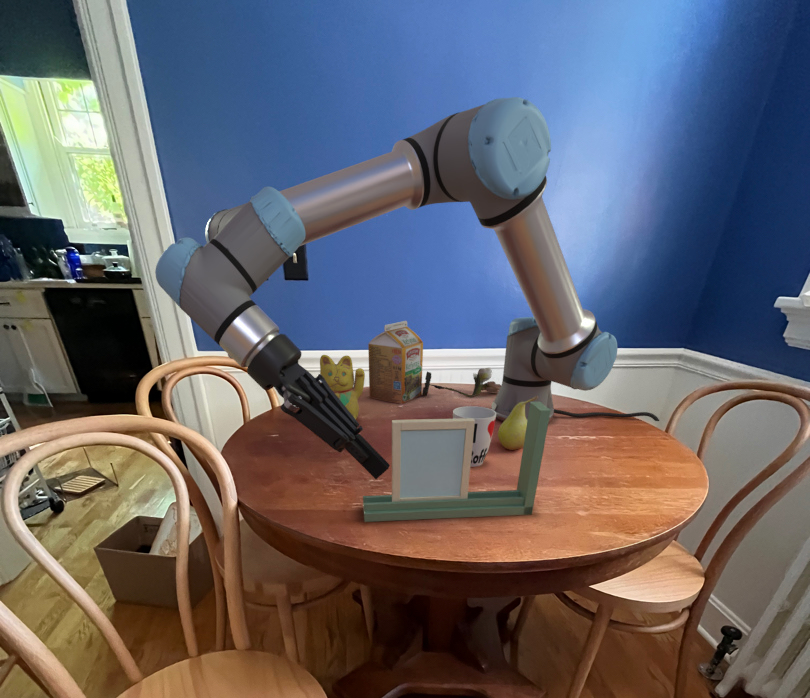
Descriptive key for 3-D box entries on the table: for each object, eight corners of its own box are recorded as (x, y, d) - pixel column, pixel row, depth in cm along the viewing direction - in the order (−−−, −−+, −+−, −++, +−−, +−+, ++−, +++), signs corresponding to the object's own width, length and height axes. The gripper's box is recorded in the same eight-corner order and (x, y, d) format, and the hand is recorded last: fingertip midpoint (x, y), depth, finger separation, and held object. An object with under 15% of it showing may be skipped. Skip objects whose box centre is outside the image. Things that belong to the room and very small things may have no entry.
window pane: (465, 499, 77) (473, 418, 70) (467, 502, 76) (474, 420, 69) (391, 502, 76) (391, 419, 69) (392, 505, 75) (392, 422, 68)
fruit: (508, 440, 106) (516, 385, 99) (537, 450, 101) (547, 392, 95) (490, 448, 102) (496, 391, 95) (520, 458, 97) (529, 399, 91)
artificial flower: (420, 395, 140) (425, 359, 137) (495, 406, 141) (502, 371, 138) (421, 395, 131) (427, 356, 129) (501, 407, 132) (508, 369, 130)
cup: (464, 472, 90) (468, 421, 85) (441, 458, 97) (444, 408, 91) (498, 465, 94) (505, 415, 88) (475, 451, 100) (479, 403, 94)
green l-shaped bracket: (523, 502, 81) (539, 401, 72) (532, 514, 77) (550, 410, 68) (363, 508, 78) (359, 404, 69) (364, 522, 74) (360, 414, 65)
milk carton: (401, 403, 128) (402, 327, 118) (369, 397, 133) (367, 323, 123) (421, 395, 136) (423, 322, 126) (390, 389, 141) (390, 318, 130)
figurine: (317, 425, 112) (311, 358, 104) (321, 414, 119) (316, 351, 111) (365, 425, 113) (363, 359, 105) (366, 414, 120) (364, 351, 112)
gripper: (266, 360, 73) (375, 469, 80) (226, 381, 62) (356, 506, 69) (296, 324, 70) (407, 441, 76) (258, 339, 59) (392, 475, 65)
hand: (382, 472), depth 73 cm, fingers closed
